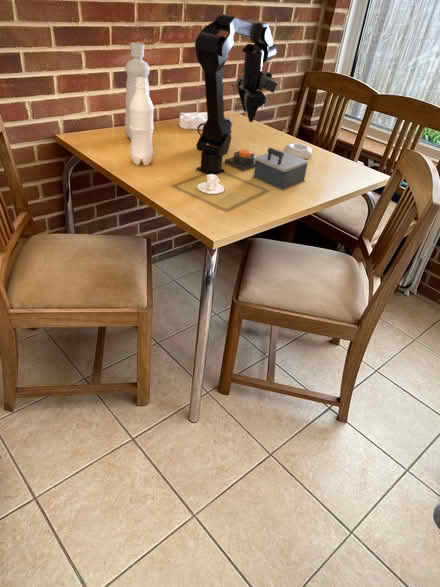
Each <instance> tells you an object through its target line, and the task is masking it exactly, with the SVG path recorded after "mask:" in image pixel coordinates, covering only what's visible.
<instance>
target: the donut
mask: <svg viewBox="0 0 440 587" xmlns="http://www.w3.org/2000/svg"><path fill="white" fill-rule="evenodd" d="M283 151H284V152H286V153H289V154H291V155H294V156H296V157H299V158H301V159H304V160H307V159H310V158H311V156H312V155H313V150H312V148H311V147H310V146H308V145H307V144H304V143H299V142H291V143H288V144H286V145H285V146H284V148H283Z"/></svg>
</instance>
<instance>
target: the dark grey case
mask: <svg viewBox="0 0 440 587" xmlns="http://www.w3.org/2000/svg"><path fill="white" fill-rule="evenodd" d="M308 164H309V163H308ZM308 164H305V165H302V166H300V167H297V168H294V169H292V170H289V171H287V172H283V171H280V170H278V169H276V168H273V167H271V166H269V165H266V164H264V163H261V162H259V161H257V160H256V164H255V167H254V172H253V178H255V179H257V180H259V181H262V182H263V183H266V184H269V185H271V186H272V187H275V188H277V189H280V190H281V191H284V190H286V189H288V188H291V187H293V186H295V185H298V184H301V183H303V182H304V181H305V179H306V178H305V177H306V173H307V168H308Z"/></svg>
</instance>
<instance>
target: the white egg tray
mask: <svg viewBox="0 0 440 587" xmlns="http://www.w3.org/2000/svg"><path fill="white" fill-rule="evenodd" d="M206 121H207V111H204V112H203V111H202V112H195V111H193V112H180V113H179V124H178V126H179V128H181V129H185V130H196V131H197V128H198V126H199V125H200V124H202V123H206ZM203 126H204V125H202V126H200V127H199V131H203Z"/></svg>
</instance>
